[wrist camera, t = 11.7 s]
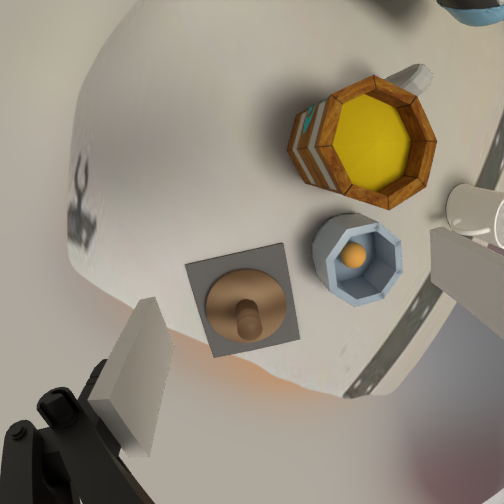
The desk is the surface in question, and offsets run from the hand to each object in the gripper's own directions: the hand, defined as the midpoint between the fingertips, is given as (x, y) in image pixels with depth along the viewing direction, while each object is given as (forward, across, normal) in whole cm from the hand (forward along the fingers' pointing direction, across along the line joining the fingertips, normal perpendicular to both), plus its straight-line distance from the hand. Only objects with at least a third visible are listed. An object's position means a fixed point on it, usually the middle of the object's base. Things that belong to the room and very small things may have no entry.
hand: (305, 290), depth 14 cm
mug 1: (+31, +14, +6) cm, 35 cm away
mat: (+30, -5, -15) cm, 34 cm away
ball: (+29, +11, -10) cm, 33 cm away
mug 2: (+31, +33, -9) cm, 47 cm away
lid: (+30, -5, -15) cm, 34 cm away
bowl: (+31, +11, -11) cm, 34 cm away
